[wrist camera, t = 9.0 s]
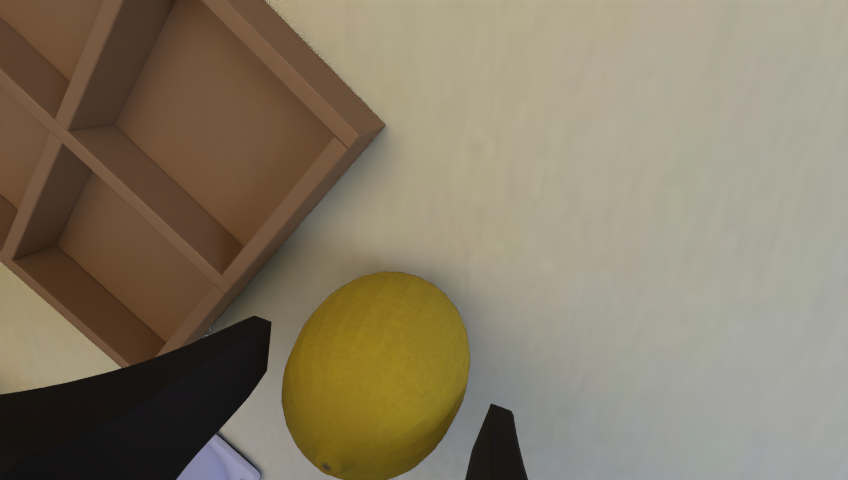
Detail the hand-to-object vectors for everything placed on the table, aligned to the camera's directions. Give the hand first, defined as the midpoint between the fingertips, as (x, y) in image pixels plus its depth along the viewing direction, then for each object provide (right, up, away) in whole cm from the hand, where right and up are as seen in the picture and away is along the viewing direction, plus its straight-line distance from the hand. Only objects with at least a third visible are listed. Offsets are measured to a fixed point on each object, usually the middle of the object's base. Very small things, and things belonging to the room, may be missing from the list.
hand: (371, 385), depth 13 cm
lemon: (+1, +2, +4) cm, 5 cm away
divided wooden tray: (-11, +9, +5) cm, 15 cm away
